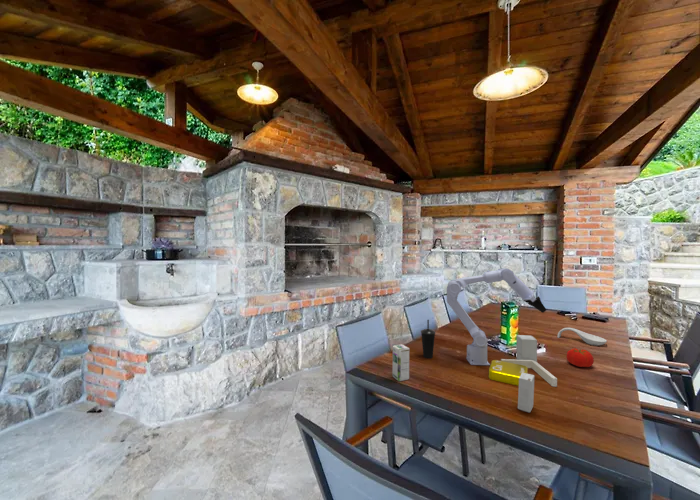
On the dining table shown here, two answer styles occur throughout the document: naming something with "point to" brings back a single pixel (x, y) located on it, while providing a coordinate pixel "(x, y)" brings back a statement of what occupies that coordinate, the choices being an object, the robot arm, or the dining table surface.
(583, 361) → the tomato
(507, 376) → the element tile
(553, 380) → the white l-shaped strip
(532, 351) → the supplement box
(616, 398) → the dining table surface
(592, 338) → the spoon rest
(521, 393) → the skincare box
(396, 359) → the syrup box
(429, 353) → the drinking cup
